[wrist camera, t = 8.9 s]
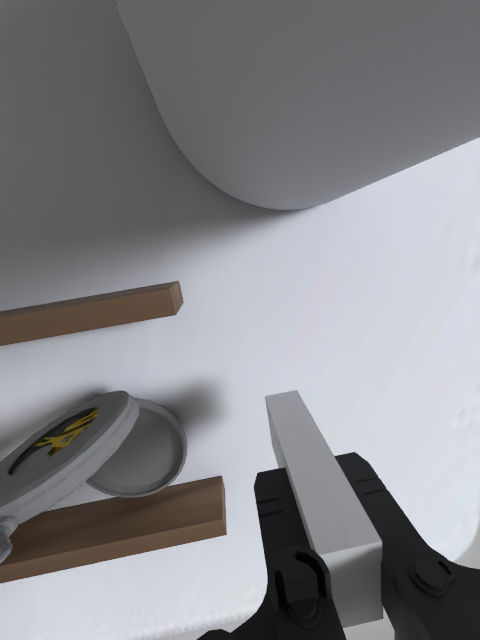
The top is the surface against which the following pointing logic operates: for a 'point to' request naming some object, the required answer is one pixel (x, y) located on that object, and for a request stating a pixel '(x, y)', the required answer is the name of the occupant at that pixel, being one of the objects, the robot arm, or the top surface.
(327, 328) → the top surface
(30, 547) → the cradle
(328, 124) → the cylinder vase
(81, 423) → the pocket watch
